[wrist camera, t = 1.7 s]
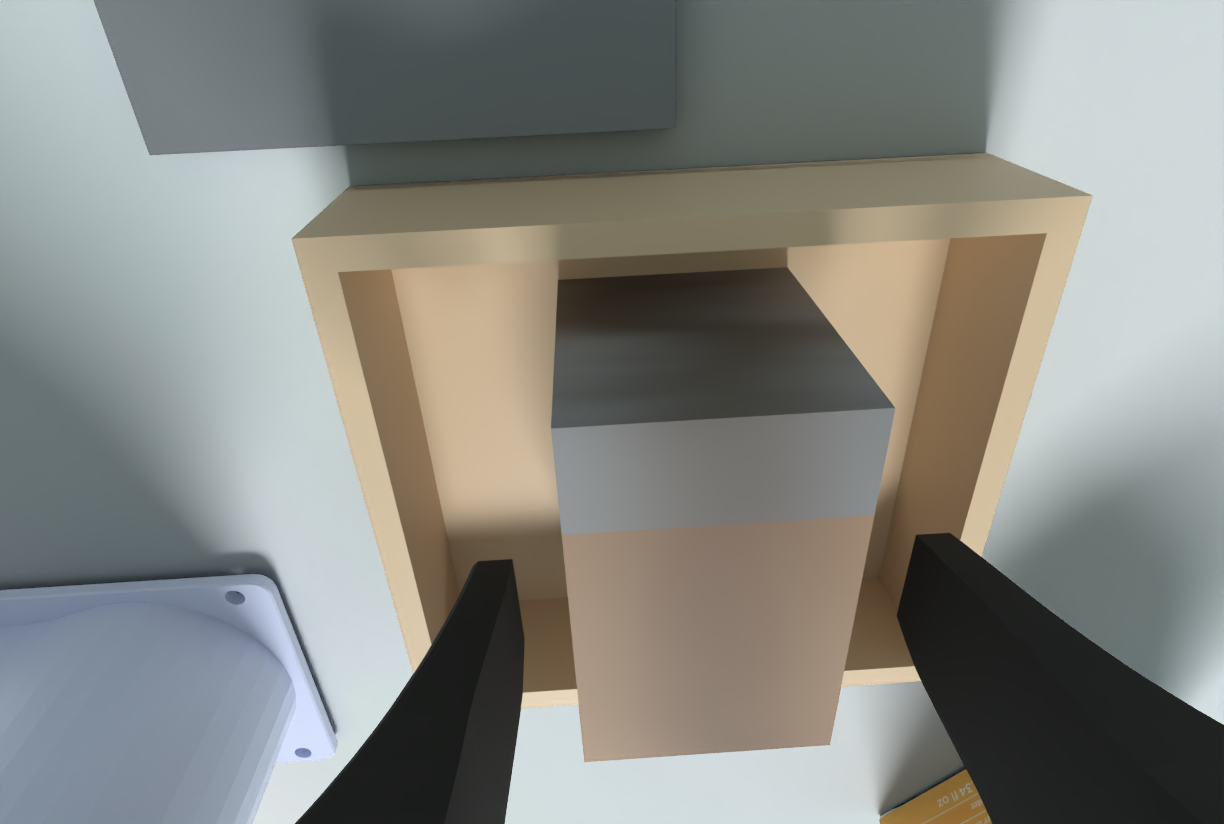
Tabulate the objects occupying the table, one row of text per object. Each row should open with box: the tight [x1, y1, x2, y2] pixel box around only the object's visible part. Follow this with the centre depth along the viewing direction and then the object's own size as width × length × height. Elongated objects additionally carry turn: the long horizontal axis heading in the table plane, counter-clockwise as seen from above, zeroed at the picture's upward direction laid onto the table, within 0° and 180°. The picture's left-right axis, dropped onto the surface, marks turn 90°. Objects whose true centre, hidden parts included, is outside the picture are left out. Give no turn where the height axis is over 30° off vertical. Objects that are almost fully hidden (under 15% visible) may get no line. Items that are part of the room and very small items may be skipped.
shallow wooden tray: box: [292, 153, 1092, 708], centre depth 16 cm, size 13×12×4 cm
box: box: [551, 267, 895, 762], centre depth 15 cm, size 5×8×6 cm, turn 2°
